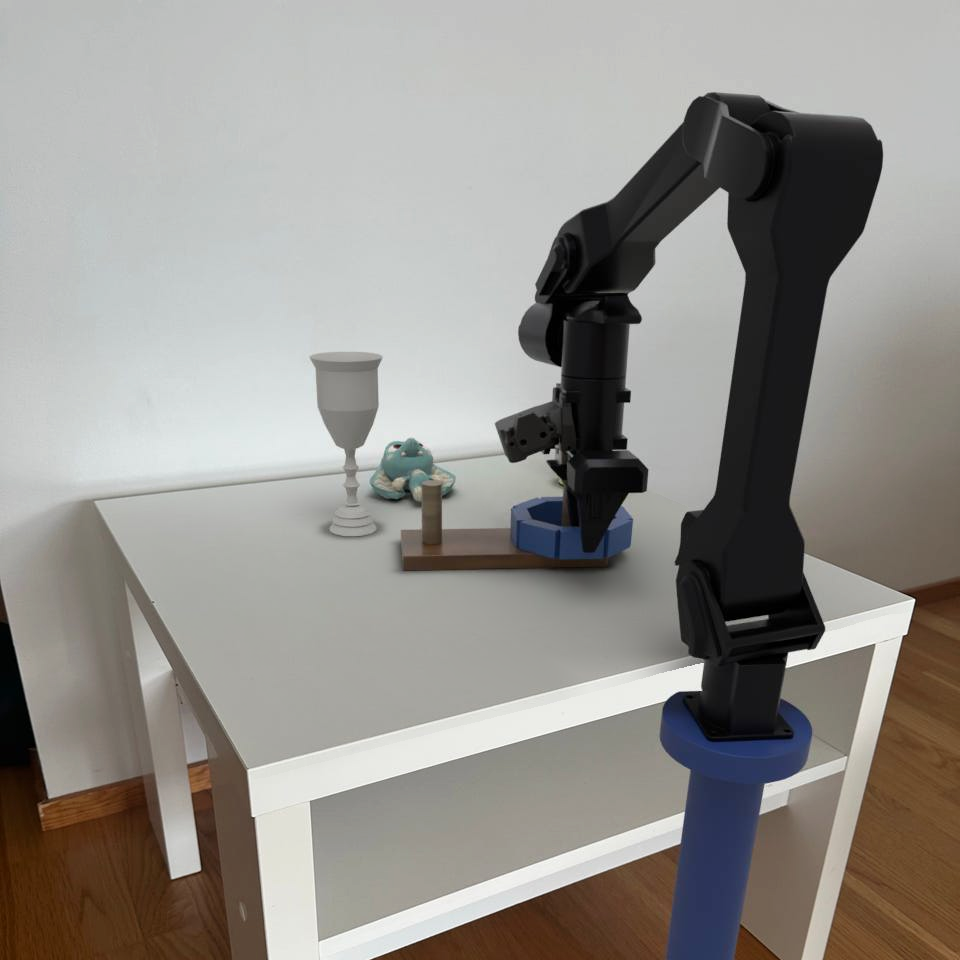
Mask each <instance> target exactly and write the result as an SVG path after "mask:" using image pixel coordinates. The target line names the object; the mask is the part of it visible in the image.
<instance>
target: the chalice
mask: <svg viewBox="0 0 960 960" xmlns="http://www.w3.org/2000/svg"><path fill="white" fill-rule="evenodd" d="M383 357H384V356H383V355H381V354H380V353H374V352H366V351H365V352H364V351H328V352H319V353H314V354H311V355H309V360H310V361H311V363H312V365H313V366H314V368H315V384H316V386H315V387H316V405H317V409H318V412H319V415H320V416H321V419H322V423H323V424H324V427H325V428H326V430H327V431H328V433H329V435H330V437H331V440H332V441H333V443H334V445H335V446H336V447H338V448H340V449H343V450H344V454H345V461H344V465H343V467H342V469H343V470H344V472H345V476H346V478H345V482H344V483H343V484H342V486H343V487H344V488H345V491H346V495H347V497H346V502H344V505H342V506H339V508H338V509H336V511H335V512H334V517H333V518H332V523H331V525H330V527H329V532H330V533H331V534H334V535H337V536H343V537H361V536H362V537H363V536H368V535H371V534H373V533H375V532H376V531H377V530H378V529H377V528H378V527H377V526H376V524H375V522H374V518H373V516H372V515H371V512H370V510H369V509H368V508H367V507H366V506H364V505H361V502H360V501H358V497H357V493H358V488H359V487H360V486H361V484H360V483H359V482H358V480H357V476H356V475H357V471H358V470H359V465H358V464H357V460H356V451H357V449H359V448H361V447H363V446H364V445H365V443H366V440H367V438H368V437H369V434H370V432H371V430H372V429H373V425H374V423H375V420H376V416H377V413H378V410H379V407H380V406H379V405H380V403H379V401H380V400H379V366H380V364H381V362H382V361H383Z"/></svg>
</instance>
